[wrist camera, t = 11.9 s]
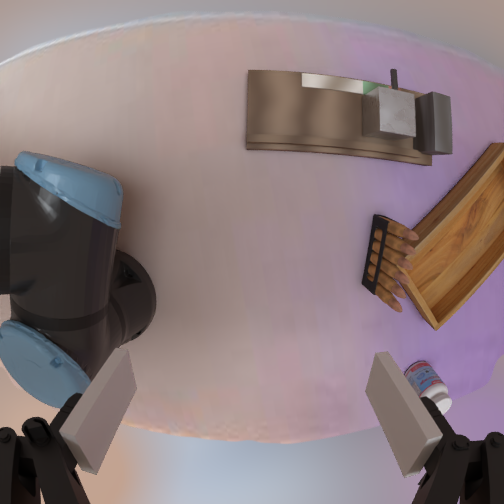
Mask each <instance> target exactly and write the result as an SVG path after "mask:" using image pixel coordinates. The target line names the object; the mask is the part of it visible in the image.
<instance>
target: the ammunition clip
mask: <svg viewBox="0 0 504 504" xmlns="http://www.w3.org/2000/svg"><path fill="white" fill-rule="evenodd" d="M397 236H398V237H397ZM399 237H402V238H406V239H409V240H418V239H419V237H418V235H417V234H416V233H415V232H414V231H412V230H410V229H409V228H407V227H405V226H404V225H402V224H400V223H398V222H396V221H394V220H392V219H390V218H388V217H386V216H382V215H374V216H373V223H372V229H371V235H370V242H369V247H368V253H367V259H366V264H365V269H364V274H363V279H362V285H364V286H365V287H366V288H367V289H368V290H369V291H370V292H371V293H372V294H373V295H377V296H378V297H379V298H380V299H381V300H382V301H383V302H384V303H386V304H388V305H389V306H390V307H391V308H392V309H394V310H395V311H397V312H402V307H401V305H400V303H399V302H398V301H397V300H396V298H395V297H394V296H393V294H392V293H394V294H395V295H396V296H398V297H400V298H406V294H405V292H404V290H403V289H402V288H401V287H400V286H399V285H398V284H397V283H396V281H395V280H394V279H396V280H398V281H399V282H401V283H403V284H409V283H410V282H409V279H408V277H407V276H406V275H405V274H404V273H403V272H402V271H401V270H400V269H399V268H398V267H397V266H396V265H398V266H400V267H402V268H404V269H407V270H412V269H413V266H412V264H411V263H410V262H409V261H408V260H407V259H406V258H404V257H403V256H402V255H401V254H400V253H399V252H398V251H400V252H403V253H405V254H408V255H415V254H416V251H415V250H414V248H413V247H412V246H410V245H409V244H407V243H406V242H404V241H403V240H402V239H401V238H399ZM395 264H396V265H395ZM393 278H394V279H393ZM390 291H391V292H392V293H391V292H390Z"/></svg>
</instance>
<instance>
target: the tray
mask: <svg viewBox="0 0 504 504" xmlns="http://www.w3.org/2000/svg"><path fill="white" fill-rule="evenodd" d="M412 231H414V232H415V233H416V234H417V235H418V237H419V239H418V240H409V239H406V238H403V239H402V240H403V241H404V242H406V243H407V244H409V245H410V246H412V247H413V248H414V250H415V251H416V254H415V255H408V254H405V253H403V252H400V251H398V252H399V253H400V254H401V255H402V256H403V257H404V258H406V259H407V260H408V261H409V262H410V263H411V264H412V266H413V269H412V270H407V269H404V268H402V267H400V266H398V265H396V264H395V265H396V266H397V267H398V268H399V269H400V270H401V271H402V272H403V273H404V274H405V275H406V276H407V277H408V279H409V282H410V283H409V284H403V283H401V282H400V284H401V285H402V287H403V288H404V290H405V291H406V293H407V294H408V296H409V297H410V299H411V300H412V302H413V303H414V305H415V306H416V308H417V309H418V311H419V312H420V314H421V316H422V317H423V318H424V320H425V321H426V322H427V323H428V324H429V325H430V326H431V327H432V328H433V329H434V330H435V331H437V330H438V329H439V328H440V327H441V326H442V325H443V324H444V323H445V322H446V321H447V320H448V319H450V318H451V317H452V316H453V315H454V314H455V313H456V312H457V311H458V310H459V309H460V307H461V306H462V305H463V304H464V303H465V302H466V301H467V300H468V299H469V298H470V297H471V296H472V295H473V294H474V293H475V292H476V290H477V289H478V288H479V287H480V286H481V285H482V284H483V283H484V281H485V280H486V279H487V278H488V277H489V276H490V275H491V273H492V272H493V271H494V270H495V269H496V267H497V266H498V265H499V264H500V262H501V261H502V260H503V259H504V143H492V144H491V145H490V146H489V148H488V149H487V150H486V151H485V153H484V154H483V155H482V156H481V157H480V159H479V160H478V161H477V162H476V163H475V164H474V166H473V167H472V168H471V169H470V170H469V171H468V172H467V173H466V175H465V176H464V177H463V178H462V179H461V180H460V181H459V182H458V183H457V185H456V186H455V187H454V188H453V189H452V190H451V191H450V192H449V193H448V194H447V195H446V196H445V197H444V198H443V199H442V200H441V201H440V202H439V203H438V204H437V206H436V207H435V208H434V209H433V210H432V211H431V212H430V213H429V214H428V215H427V216H426V217H425V218H424V219H423V220H422V221H421V222H420V223H419V224H418V225H417V226H416V227H414V228H413V229H412Z"/></svg>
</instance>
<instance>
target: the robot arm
mask: <svg viewBox="0 0 504 504" xmlns="http://www.w3.org/2000/svg"><path fill="white" fill-rule="evenodd" d="M122 201H123V189H122V186H121V184H120V182H119V181H118V180H117V179H116V178H114V177H113V176H111V175H109V174H106V173H104V172H101V171H98V170H95V169H93V168H89V167H86V166H83V165H80V164H77V163H73V162H70V161H66V160H63V159H59V158H55V157H52V156H47V155H43V154H37V153H32V152H28V151H22V152H20V153H19V155H18V157H17V158H16V159H15V166H14V167H12V166H0V295H1V294H10V304H11V318H10V320H7V321H4V322H3V323H2V325H1V328H0V358H1V360H2V362H3V364H4V366H5V367H6V369H7V370H8V372H9V373H10V375H11V376H12V377H13V378H14V379H15V380H16V382H17V383H18V384H19V385H20V386H21V387H22V388H23V389H24V390H25V391H27V392H28V393H29V394H30V395H32V396H33V397H35V398H36V399H38V400H39V401H41V402H43V403H45V404H47V405H49V406H52V407H55V408H61V409H60V412H58V414H57V415H56V417H55V418H54V419H53V421H52V422H51V424H50V425H48V423H47V421H46V420H45V419H43V418H40V417H32V418H30V419H28V420H26V421H25V422H24V424H23V425H22V432H23V433H24V435H25V437H24V436H17V434H16V433H15V431H14V430H13V429H11V428H9V427H3V428H0V504H41V496H40V488H41V492H42V495H43V498H44V501H45V504H90V502H89V500H88V498H87V496H86V493H85V491H84V489H83V486H82V484H81V482H80V479H79V477H78V474H77V472H76V471H75V467H76V465H77V463H78V465H79V466H80V468H81V470H83V471H86V472H89V473H92V474H95V475H97V473H98V471H99V468H100V466H101V464H102V462H103V460H104V457H105V455H106V453H107V451H108V449H109V446H110V444H111V442H112V440H113V438H114V435H115V433H116V431H117V429H118V427H119V425H120V423H121V421H122V418H123V416H124V414H125V412H126V410H127V408H128V406H129V404H130V402H131V400H132V398H133V396H134V394H135V391H136V389H137V387H136V383H135V378H134V374H133V370H132V365H131V361H130V356H129V351H128V349H120V348H119V347H120V346H121V345H123V344H125V343H127V342H129V341H131V340H133V339H135V338H137V337H139V336H140V335H141V334H142V333H143V332H144V331H145V330H146V328H147V327H148V325H149V324H150V322H151V321H152V319H153V317H154V314H155V309H156V295H155V290H154V287H153V284H152V281H151V279H150V277H149V276H148V274H147V272H146V271H145V270H144V268H143V267H142V266H141V265H140V264H139V263H138V262H137V261H136V260H135V259H133V258H132V257H131V256H129V255H127V254H126V253H124V252H121V251H118V250H116V244H117V238H118V232H119V229H121V223H120V216H121V208H122ZM365 392H366V394H367V396H368V398H369V401H370V403H371V405H372V407H373V409H374V411H375V413H376V416H377V418H378V420H379V422H380V424H381V426H382V428H383V431H384V433H385V435H386V437H387V440H388V442H389V444H390V446H391V449H392V451H393V453H394V455H395V458H396V460H397V462H398V465H399V467H400V469H401V472H402V474H403V476H404V478H406V477H409V476H413V475H416V474H419V472H420V471H421V469H422V468H423V467H425V469H426V473H425V475H424V476H423V478H422V479H421V480H420V482H419V483H418V485H420V486H419V489H418V491H417V493H416V495H415V498H414V500H413V502H412V504H457V502H458V499H459V496H460V504H504V435H503V434H501V433H499V432H491V433H489V434H488V435H487V437H486V438H485V439H484V440H481V441H470V440H469V439H468V438H467V437H466V436H463V435H457V434H455V432H454V431H453V429H452V428H451V426H450V425H449V423H448V422H447V420H446V419H445V417H444V416H443V415H442V413H441V411H440V410H438V409H439V408H438V407H437V406H436V404H435V403H434V401H432V400H431V399H429V398H428V397H427V396H425V397H420V398H419V397H418V395H417V394H416V392H415V391H414V389H413V388H412V386H411V385H410V383H409V382H408V380H407V379H406V377H405V376H404V374H403V373H402V371H401V370H400V368H399V367H398V366H397V364H396V363H395V361H394V360H393V358H392V357H391V355H390V354H389V353H388V352H379V353H375V357H374V361H373V365H372V368H371V372H370V376H369V380H368V383H367V387H366V390H365Z"/></svg>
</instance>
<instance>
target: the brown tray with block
mask: <svg viewBox="0 0 504 504" xmlns="http://www.w3.org/2000/svg"><path fill="white" fill-rule="evenodd" d="M378 86H380V87H385V88H390V89H392V86H389V85H385V84H380V83H375V82H369V81H364V80H358V79H352V78H345V77H338V76H331V75H323V74H313V73H303V72H290V71H272V70H248V109H247V150H276V151H297V152H313V153H327V154H338V155H349V156H359V157H367V158H376V159H384V160H391V161H398V162H405V163H412V164H418V165H424V166H432V155H445V154H452V117H451V102H450V97H449V96H446V95H443V94H440V93H436V92H430V93H428V94H422V93H419V92H415V91H411V90H407V89H403V88H398V90H399V91H403V92H407V93H411V94H414V99H415V123H416V137H412V138H407V139H402V140H396V141H393V140H387V139H380V138H373V137H366V136H363V128H362V97H363V96H365V95H366V94H368V93H369V92H371V91H372V90H374V89H375V88H377V87H378Z"/></svg>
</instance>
